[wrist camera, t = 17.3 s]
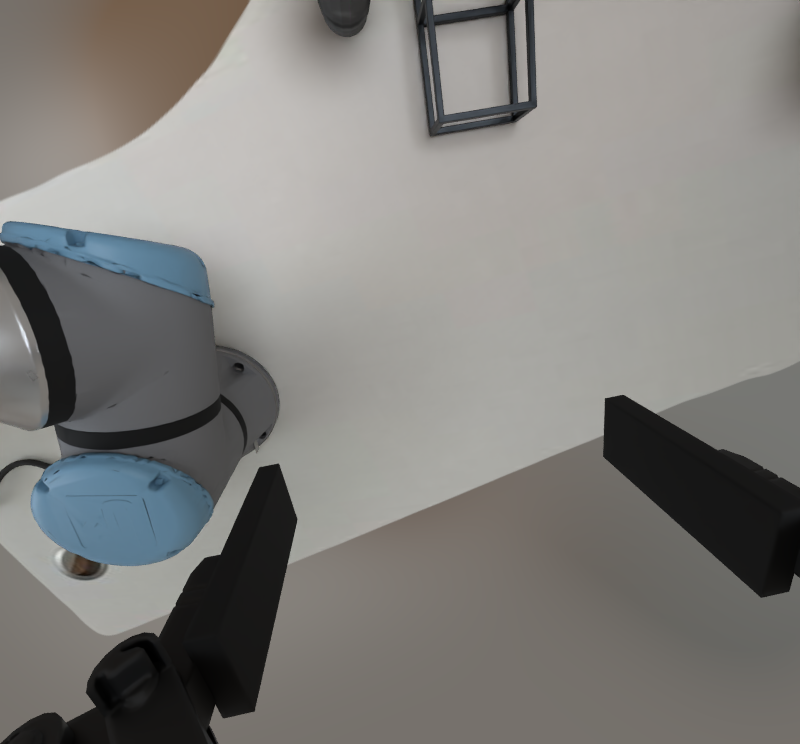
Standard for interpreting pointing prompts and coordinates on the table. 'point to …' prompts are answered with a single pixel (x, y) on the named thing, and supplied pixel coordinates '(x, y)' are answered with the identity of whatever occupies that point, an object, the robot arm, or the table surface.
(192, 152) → the table surface
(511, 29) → the rack
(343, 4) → the beverage cup
